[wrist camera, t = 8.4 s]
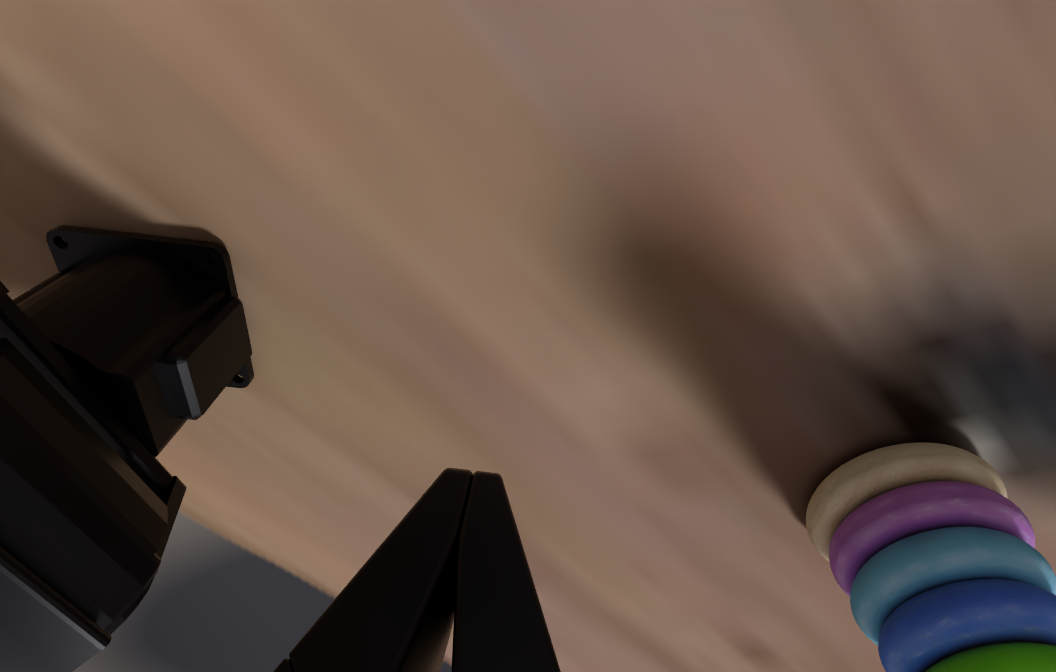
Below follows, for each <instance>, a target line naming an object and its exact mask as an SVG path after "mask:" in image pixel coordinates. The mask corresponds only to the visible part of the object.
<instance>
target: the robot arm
mask: <svg viewBox="0 0 1056 672" xmlns="http://www.w3.org/2000/svg"><path fill="white" fill-rule="evenodd" d="M46 238H47V242H48V245H49V247H50V250H51V253H52V255H53V258H54V260H55V263H56V266H57V268H58V271H59V272H58V273H57V274H55V275H53V276H52V277H50V278H48V279H47V280H45V281H44V282H42V283H40V284H39V285H37V286H35V287H34V288H32V289H30V290H29V291H27V292H25V293H24V294H22V295H20V296H19V297H17V298H15V299H14V300H12V299H11V298H10V297H9V296H8V295H7V293H8V292H9V290H8V289H7V288H6V287H5V286H4V285H3V284H2V282H1V281H0V672H72V671H74V670H75V669H76V668H78V667H79V666H81V665H82V664H83V663H85V662H86V661H87V660H89V659H90V658H92V657H93V656H94V655H96V654H97V653H99V652H100V651H101V650H103V649H104V648H105V647H106V646H107V645H108V644H109V642H110V641H111V634H112V633H113V632H114V631H115V630H116V629H117V628H118V627H119V626H120V625H121V624H122V623H123V622H124V621H125V620H126V619H127V617H129V615H130V614H131V613H132V612H133V611H134V610H135V608H136V607H137V606H138V605H139V603H140V602H141V600H142V599H143V597H144V596H145V594H146V593H147V591H148V590H149V588H150V586H151V583H152V581H153V579H154V577H155V575H156V573H157V572H158V569H159V566H160V563H161V557H162V555H163V552H164V549H165V546H166V543H167V541H168V538H169V535H170V532H171V530H172V527H173V524H174V521H175V518H176V516H177V513H178V510H179V507H180V505H181V502H182V499H183V496H184V494H185V491H186V486H185V485H184V484H183V483H182V482H181V481H180V480H179V478H178V477H177V476H172V475H171V474H170V473H169V472H168V471H167V470H166V469H165V468H164V467H163V466H162V464H161V463H160V462H159V461H158V460H157V459H156V458H155V457H156V456H157V455H158V454H159V453H160V452H161V451H162V450H163V448H164V447H165V446H166V445H167V444H168V442H169V441H170V440H171V439H172V438H173V436H174V435H175V434H176V433H177V432H178V430H179V429H180V428H181V427H182V426H183V424H184V423H185V422H186V421H187V420H188V419H191V420H197V419H198V418H199V417H201V416H202V415H203V414H204V413H205V412H206V410H207V409H208V408H209V407H210V405H211V404H212V403H213V402H214V400H215V399H216V398H217V397H218V396H219V394H220V393H221V392H222V391H223V389H224V388H225V387H235V388H245V387H247V386H248V385H249V383H250V382H251V381H252V379H253V378H254V372H253V368H252V363H251V358H250V356H251V355H252V349H251V344H250V339H249V334H248V329H247V324H246V319H245V314H244V309H243V304H242V302H241V301H240V299H239V298H238V294H237V290H236V285H235V280H234V275H233V270H232V265H231V260H230V256H229V253H228V251H227V250H226V249H225V248H224V247H223V246H222V245H220V244H218V243H215V242H208V241H199V240H190V239H181V238H172V237H163V236H154V235H145V234H136V233H127V232H118V231H109V230H100V229H91V228H82V227H73V226H58V227H56V228H54V229H52V230H50V231H49V232H47V235H46ZM62 238H64V239H65V240H66V241H67V243H66V242H65V241H64V240H63V239H62ZM209 253H212V254H214V255H215V256H216V258H217V260H218V261H216V260H214V259H213V258H211V256H210V254H209ZM237 374H239V375H241V376H242V377H243V378H242V377H240V376H238V375H237ZM453 621H454V631H453V653H452V672H561V671H560V668H559V665H558V661H557V658H556V655H555V652H554V648H553V645H552V642H551V638H550V635H549V632H548V628H547V625H546V622H545V619H544V615H543V612H542V609H541V605H540V602H539V599H538V595H537V592H536V589H535V585H534V582H533V579H532V576H531V572H530V569H529V566H528V562H527V559H526V556H525V552H524V549H523V546H522V542H521V539H520V536H519V533H518V529H517V526H516V523H515V519H514V516H513V513H512V509H511V506H510V503H509V499H508V496H507V493H506V490H505V486H504V483H503V480H502V477H501V476H500V475H499V474H497V473H490V472H481V471H477V472H475V473H474V474H473V473H472V472H471V471H470V470H464V469H455V468H447V469H445V470H444V471H443V472H442V473H441V474H440V475H439V477H438V478H437V479H436V480H435V481H434V483H433V484H432V485H431V486H430V487H429V488H428V490H427V491H426V492H425V493H424V494H423V496H422V497H421V498H420V499H419V500H418V502H417V503H416V504H415V505H414V506H413V507H412V509H411V510H410V511H409V512H408V513H407V515H406V516H405V517H404V518H403V519H402V520H401V522H400V523H399V524H398V525H397V526H396V528H395V529H394V530H393V531H392V532H391V533H390V535H389V536H388V537H387V538H386V539H385V541H384V542H383V543H382V544H381V545H380V546H379V548H378V549H377V550H376V551H375V552H374V554H373V555H372V556H371V557H370V558H369V560H368V561H367V562H366V563H365V564H364V565H363V567H362V568H361V569H360V570H359V571H358V573H357V574H356V575H355V576H354V577H353V578H352V580H351V581H350V582H349V583H348V584H347V586H346V587H345V588H344V589H343V590H342V591H341V593H340V594H339V595H338V596H337V597H336V599H335V600H334V601H333V602H332V603H331V604H330V606H329V607H328V608H327V610H326V611H325V612H324V613H323V614H322V616H320V618H319V619H318V620H317V621H316V622H315V624H314V625H313V626H312V627H311V628H310V630H309V631H308V632H307V633H306V634H305V635H304V636H303V638H302V639H301V640H300V641H299V642H298V644H297V645H296V646H295V647H294V649H293V650H292V651H291V652H290V654H289V657H290V660H289V659H288V658H286V659H284V660H283V661H282V662H281V663H280V664H279V666H278V667H277V668H276V669H275V670H274V672H440V669H441V665H442V662H443V658H444V655H445V651H446V647H447V644H448V640H449V637H450V633H451V629H452V625H453Z"/></svg>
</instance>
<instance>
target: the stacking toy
mask: <svg viewBox="0 0 1056 672" xmlns="http://www.w3.org/2000/svg"><path fill="white" fill-rule="evenodd" d="M806 526H807V531H808V534H809V537H810V539H811V541H812V543H813V545H814V547H815V548H816V549H817V551H818V552H819V553H820V554H821V555H822V556H823V557H824V558H825V559H826V560H828V561H829V562H830V566H831V570H832V573H833V575H834V577H835V579H836V581H837V583H838V584H839V585H840V587H841V588H842V589H843V590H844V592H845V593H846V594H847V595H848V596H850V604H851V609H852V613H853V616H854V618H855V620H856V622H857V624H858V626H859V627H860V629H861V630H862V631H863V632H864V634H865V635H866V636H867V637H868V638H869V639H870V640H872V641H873V642H874V643H875V644H877V645H878V651H879V656H880V659H881V662H882V665H883V667H884V669H885V671H886V672H1056V576H1055V574H1054V572H1053V570H1052V568H1051V566H1050V565H1049V563H1048V562H1047V561H1046V559H1045V558H1044V557H1043V556H1042V555H1041V554H1040V553H1039V552H1038V551H1037V550H1036V549H1035V536H1034V532H1033V528H1032V526H1031V524H1030V522H1029V520H1028V518H1027V517H1026V516H1025V515H1024V513H1023V512H1022V511H1021V510H1020V508H1018V507H1017V506H1016V505H1015V504H1014V503H1013V502H1011V501H1010V500H1009V499H1008V497H1007V492H1006V489H1005V486H1004V484H1003V482H1002V480H1001V478H1000V477H999V475H998V474H997V472H996V471H995V470H994V469H993V468H992V467H991V466H990V465H989V464H988V463H987V462H985V461H984V460H982V459H981V458H980V457H978V456H976V455H974V454H972V453H970V452H968V451H966V450H963V449H961V448H957V447H954V446H950V445H945V444H938V443H924V442H921V443H905V444H898V445H891V446H887V447H883V448H879V449H876V450H873V451H870V452H867V453H865V454H862V455H860V456H858V457H856V458H853V459H852V460H850V461H848V462H846V463H844V464H843V465H841V466H840V467H838V468H837V469H836V470H834V471H833V472H832V473H831V474H829V475H828V476H827V477H826V478H825V479H824V480H823V481H822V482H821V484H820V485H819V486H818V487H817V489H816V490H815V492H814V493H813V495H812V497H811V499H810V501H809V504H808V507H807V512H806Z"/></svg>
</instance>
